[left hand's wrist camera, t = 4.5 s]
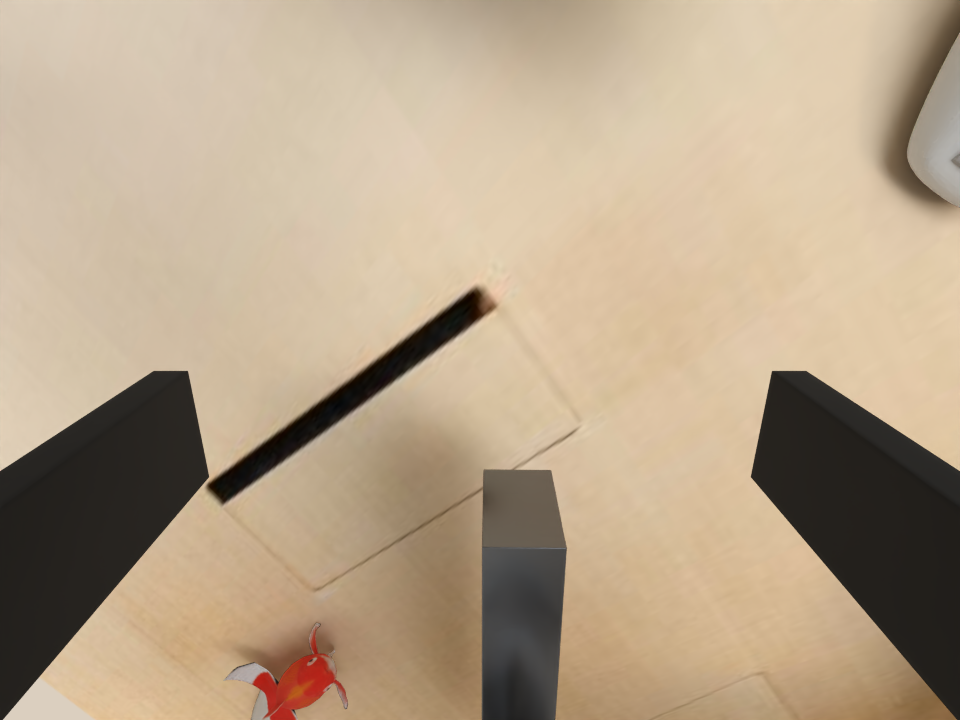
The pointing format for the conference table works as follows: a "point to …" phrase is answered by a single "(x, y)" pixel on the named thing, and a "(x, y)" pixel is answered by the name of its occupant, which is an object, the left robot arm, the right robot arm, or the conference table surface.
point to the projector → (940, 132)
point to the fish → (291, 684)
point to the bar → (521, 594)
